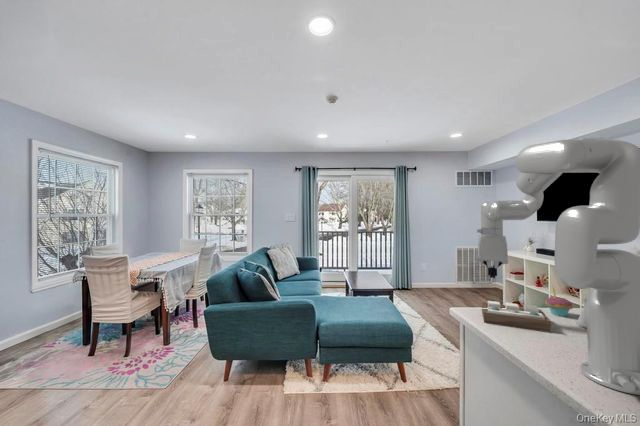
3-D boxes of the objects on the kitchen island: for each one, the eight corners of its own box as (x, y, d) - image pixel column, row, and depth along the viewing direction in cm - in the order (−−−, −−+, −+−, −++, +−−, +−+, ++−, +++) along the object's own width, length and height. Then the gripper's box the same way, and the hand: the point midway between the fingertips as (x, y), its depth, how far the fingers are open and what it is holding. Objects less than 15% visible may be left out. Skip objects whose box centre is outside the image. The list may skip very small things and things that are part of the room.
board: (551, 332, 94) (550, 317, 94) (484, 322, 103) (483, 309, 103) (541, 319, 106) (540, 306, 106) (482, 312, 116) (481, 300, 116)
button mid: (519, 313, 103) (519, 306, 104) (506, 312, 105) (506, 305, 105) (517, 310, 107) (517, 304, 107) (505, 309, 109) (505, 302, 109)
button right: (539, 316, 101) (538, 309, 101) (525, 314, 102) (525, 307, 103) (536, 312, 104) (536, 306, 104) (523, 311, 106) (523, 304, 106)
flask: (610, 331, 94) (609, 302, 95) (586, 330, 96) (584, 301, 96) (594, 324, 101) (593, 297, 102) (571, 322, 103) (570, 296, 103)
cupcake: (554, 317, 109) (553, 287, 109) (540, 310, 117) (539, 283, 117) (578, 318, 107) (577, 288, 108) (563, 311, 115) (562, 283, 116)
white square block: (500, 311, 106) (500, 304, 106) (488, 309, 108) (488, 303, 108) (499, 308, 110) (499, 301, 110) (487, 307, 112) (487, 300, 112)
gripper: (471, 232, 110) (471, 277, 110) (515, 233, 103) (516, 281, 103) (470, 231, 117) (471, 274, 117) (512, 232, 110) (513, 277, 110)
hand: (492, 277), depth 110 cm, fingers closed
